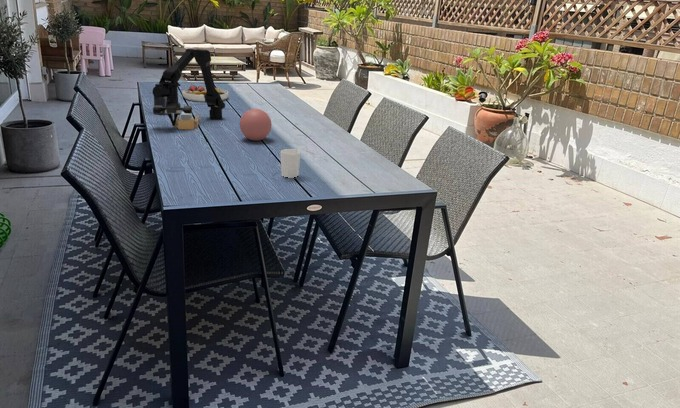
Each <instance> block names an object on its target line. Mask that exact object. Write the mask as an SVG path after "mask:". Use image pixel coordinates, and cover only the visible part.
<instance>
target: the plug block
mask: <svg viewBox="0 0 680 408" xmlns="http://www.w3.org/2000/svg"><path fill="white" fill-rule="evenodd" d="M191 118H193V112H192V113H191V114H187V113H184V112H183V111H181V114H180V120H190V119H191Z"/></svg>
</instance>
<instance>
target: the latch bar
mask: <svg viewBox="0 0 680 408" xmlns="http://www.w3.org/2000/svg"><path fill="white" fill-rule="evenodd" d="M194 120H195V118H194V117H192V118H191V119H190V120H181V119H179V120H178V126H177V129H178V130H195V128H194Z"/></svg>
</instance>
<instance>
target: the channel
mask: <svg viewBox="0 0 680 408" xmlns="http://www.w3.org/2000/svg"><path fill="white" fill-rule="evenodd" d="M178 120H180V115H178V117H177V119H176V123H175V126H173V128H175V129H178ZM199 124H200V115H199V114H195V118H194V129H197V128H199Z"/></svg>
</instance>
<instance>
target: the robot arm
mask: <svg viewBox="0 0 680 408" xmlns="http://www.w3.org/2000/svg"><path fill="white" fill-rule="evenodd" d="M193 59H194V60H195V62H196V64H197V65H198V66H199V68H200V70H201V74H202V79H203V82H204V86H205V87H204V88H206V90H207V92H206V95H204V98H205V102H204V103H206V105H207V108H209V118H210V120H223V109H225V108H226V103H225V101H224V100H223V101H222V99H221V96H220V94H219V93H218V92H217V90H216V89H215V88H216V86H215V82H214V78H213V77H214V76H213V74H212V70H211V63H212V62H211V61H212V55H211V52H210V50H208V49H202V48H201V49H200V48H196V49H195V48H186V49H185V51H184V52H183V54H182V55H181V56H180V57H179V58H178V59H177V61H176V62H175V63H174V65H173V64H172V66H169V67H167V68H166V69H164V71H163V72H162V75H161V77H160V79H159V82H158V83H155V84H154V85H155V86H154V87H153V88H152V95H153V98H154V97H155V98H163V97H166V101H167V102H166V107H162V106H157V105H155V106H153V107H152V113H153V114H154V113H160V112H161V111H165V115H166V116H167V117H168V118H169V120H170V122H171V125H172V127H174V126H175V123H176V119H177V117H178V115H179V116H181V113H182V111H183V112H184V113H187V114H191V113H192V114H193V107H192V106H191V105H184V106H183V107H181V103H180V102H179V90H178V89H179V88H178V87H181V85H182V84H181V83H179V81H180V79H181V77H182V72H183V71H184V70H185V68H186V67H187V66H188V65H189V64H190V63H191V62H192V60H193ZM165 115H164V116H165Z"/></svg>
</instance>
